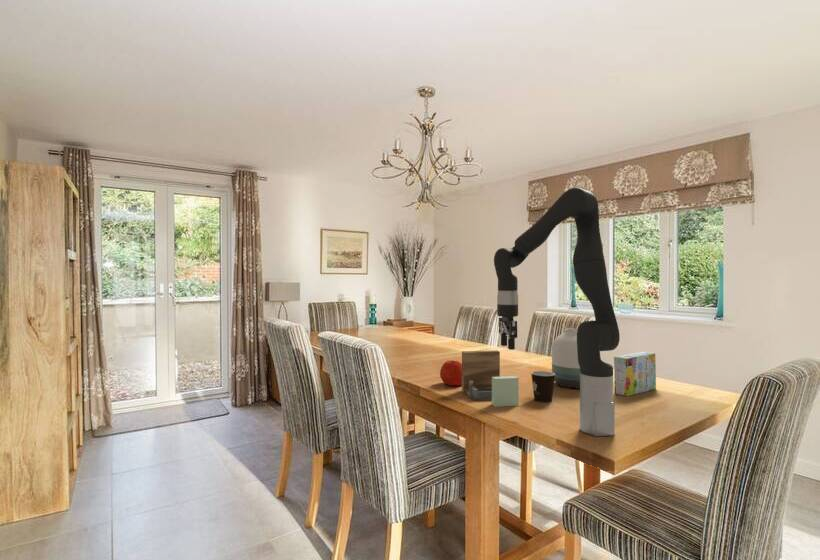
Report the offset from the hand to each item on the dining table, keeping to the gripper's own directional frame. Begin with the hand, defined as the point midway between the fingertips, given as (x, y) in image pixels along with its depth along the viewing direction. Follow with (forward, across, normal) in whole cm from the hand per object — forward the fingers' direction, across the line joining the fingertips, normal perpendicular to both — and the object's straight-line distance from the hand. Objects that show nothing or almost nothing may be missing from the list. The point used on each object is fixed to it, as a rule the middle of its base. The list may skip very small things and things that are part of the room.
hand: (507, 347), depth 160 cm
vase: (+21, +24, -36) cm, 48 cm away
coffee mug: (+21, +5, -15) cm, 26 cm away
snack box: (+21, +12, -57) cm, 62 cm away
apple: (+21, +30, +14) cm, 39 cm away
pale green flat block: (+21, -1, +1) cm, 21 cm away
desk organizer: (+21, +13, +5) cm, 25 cm away
